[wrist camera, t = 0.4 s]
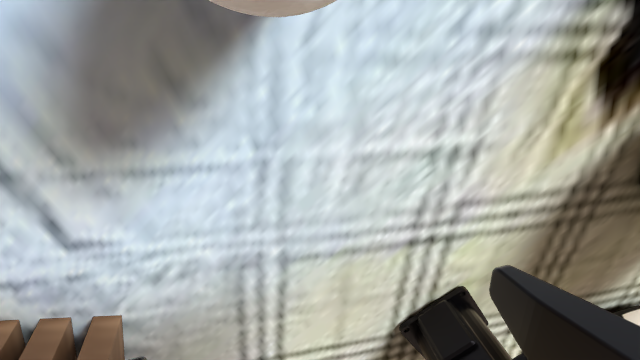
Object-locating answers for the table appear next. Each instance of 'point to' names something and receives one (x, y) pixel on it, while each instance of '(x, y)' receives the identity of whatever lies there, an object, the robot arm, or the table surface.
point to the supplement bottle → (273, 6)
